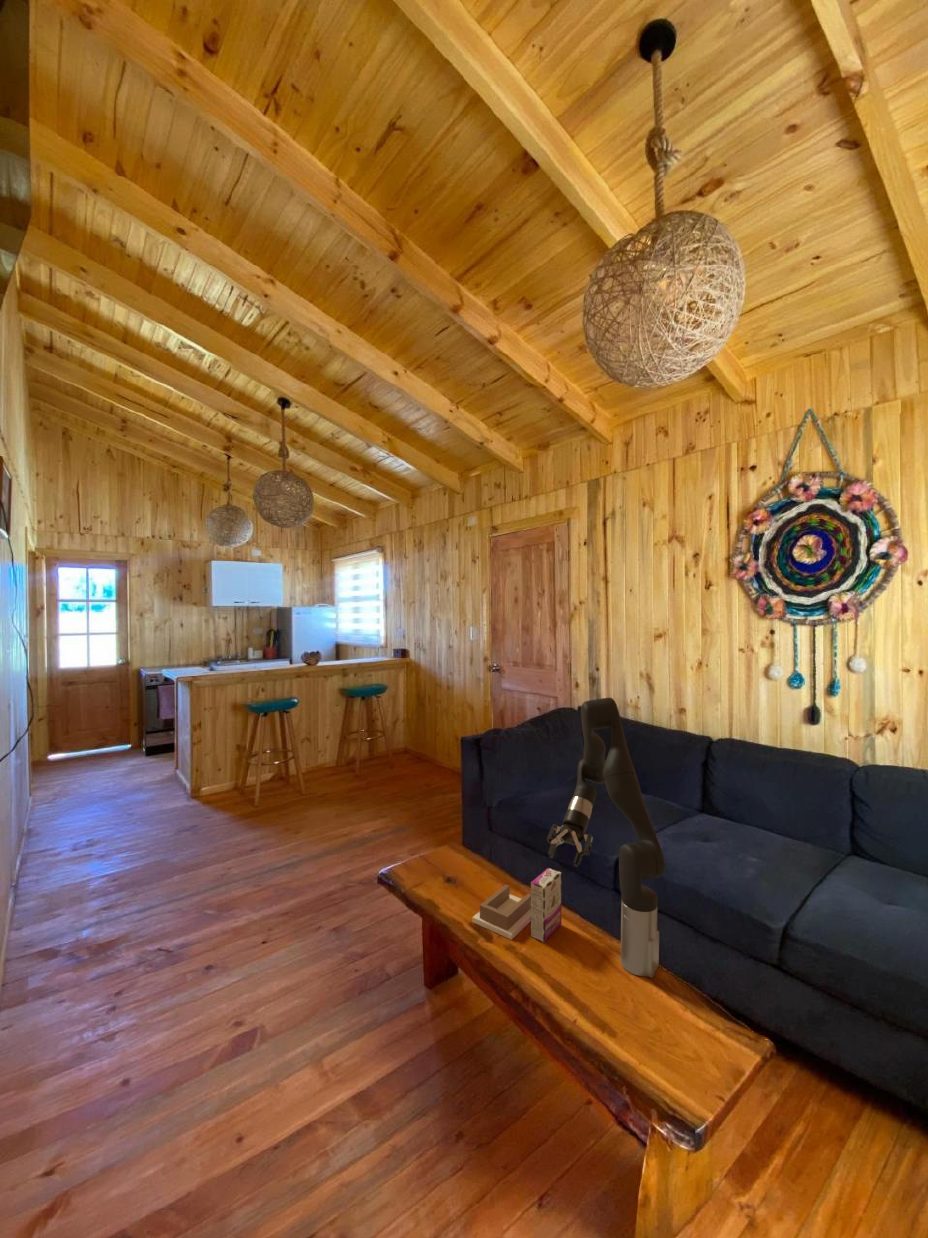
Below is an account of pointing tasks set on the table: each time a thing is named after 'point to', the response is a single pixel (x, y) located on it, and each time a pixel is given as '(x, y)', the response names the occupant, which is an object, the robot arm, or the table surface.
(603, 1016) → the table surface
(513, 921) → the slot stand
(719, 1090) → the table surface
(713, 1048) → the table surface
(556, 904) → the candy bar box
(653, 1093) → the table surface
